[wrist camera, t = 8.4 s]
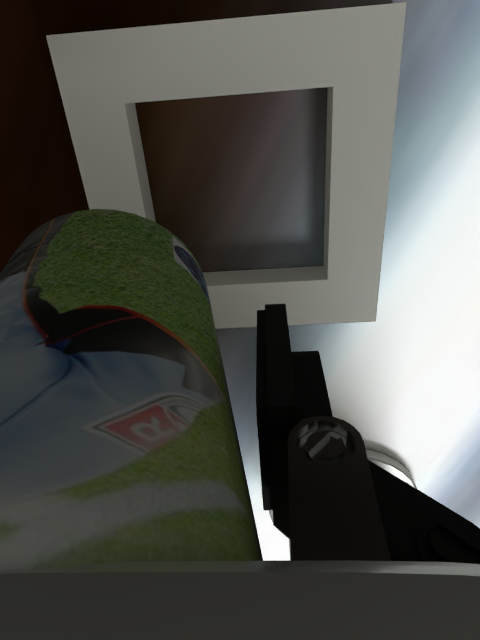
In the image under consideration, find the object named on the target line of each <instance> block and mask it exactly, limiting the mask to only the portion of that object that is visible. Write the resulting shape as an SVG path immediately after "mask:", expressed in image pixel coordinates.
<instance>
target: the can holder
mask: <svg viewBox="0 0 480 640" xmlns="http://www.w3.org/2000/svg"><path fill="white" fill-rule="evenodd" d="M405 11H406V2H403V3H392V4H381V5H370V6H359V7H349V8H338V9H327V10H316V11H305V12H294V13H284V14H273V15H262V16H251V17H240V18H229V19H219V20H208V21H197V22H186V23H175V24H165V25H154V26H143V27H132V28H121V29H110V30H100V31H89V32H78V33H67V34H56V35H46V38H47V42H48V46H49V50H50V54H51V58H52V62H53V66H54V70H55V74H56V78H57V82H58V86H59V90H60V94H61V98H62V102H63V106H64V110H65V114H66V118H67V122H68V126H69V130H70V134H71V138H72V142H73V146H74V150H75V154H76V158H77V162H78V165H79V169H80V173H81V177H82V181H83V185H84V189H85V193H86V197H87V201H88V205H89V209H109V210H119V211H123V212H128V213H133V214H136V215H139V216H141V217H144V218H147V219H149V220H152V221H154V222H155V223H156V221H155V215H154V209H153V204H152V198H151V192H150V187H149V181H148V175H147V170H146V164H145V158H144V153H143V147H142V141H141V136H140V130H139V124H138V118H137V113H136V107H135V103H137V102H150V101H162V100H174V99H187V98H199V97H211V96H224V95H236V94H248V93H261V92H273V91H285V90H298V89H310V88H323V87H327V127H326V168H325V210H324V252H323V266H311V267H293V268H275V269H256V270H238V271H220V272H203V275H204V278H205V281H206V285H207V290H208V294H209V299H210V304H211V309H212V314H213V319H214V324H215V329H220V328H242V327H257V310H265V304H286V312H287V321H288V325H307V324H329V323H350V322H372V321H376V312H377V302H378V291H379V281H380V271H381V260H382V250H383V240H384V229H385V219H386V208H387V198H388V188H389V177H390V167H391V157H392V146H393V136H394V125H395V115H396V105H397V94H398V84H399V73H400V63H401V53H402V42H403V32H404V22H405Z"/></svg>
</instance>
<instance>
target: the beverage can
mask: <svg viewBox="0 0 480 640" xmlns="http://www.w3.org/2000/svg"><path fill="white" fill-rule="evenodd" d="M138 561H263V559H262V554H261V549H260V544H259V539H258V534H257V529H256V524H255V520H254V515H253V510H252V505H251V500H250V495H249V490H248V485H247V480H246V475H245V471H244V466H243V461H242V456H241V451H240V446H239V441H238V436H237V431H236V427H235V422H234V417H233V412H232V407H231V402H230V397H229V392H228V387H227V382H226V378H225V373H224V368H223V363H222V358H221V353H220V348H219V343H218V338H217V334H216V329H215V324H214V319H213V314H212V309H211V304H210V299H209V294H208V290H207V285H206V281H205V278H204V275H203V272H202V269H201V267H200V266H199V264H198V262H197V260H196V259H195V257H194V255H193V254H192V253H191V251H190V250H189V249H188V248H187V247H186V245H185V244H184V243H183V242H182V241H181V240H180V239H178V238H177V237H176V236H175V235H174V234H173V233H171V232H170V231H169V230H167V229H166V228H164V227H162V226H161V225H159V224H157V223H155V222H154V221H152V220H149V219H147V218H144V217H141V216H139V215H136V214H133V213H128V212H123V211H119V210H109V209H90V210H82V211H75V212H72V213H68V214H65V215H62V216H58V217H56V218H54V219H52V220H50V221H48V222H46V223H44V224H43V225H41V226H39V227H38V228H37V229H36V230H34V231H33V232H32V233H31V234H29V235H28V236H27V237H26V238H25V239H24V241H23V242H22V243H21V244H20V245H19V247H18V248H17V249H16V250H15V252H14V253H13V255H12V256H11V258H10V259H9V261H8V262H7V264H6V265H5V267H4V268H3V270H2V271H1V273H0V571H5V570H22V569H38V568H50V567H63V566H76V565H89V564H99V563H109V562H138Z"/></svg>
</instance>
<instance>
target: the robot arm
mask: <svg viewBox="0 0 480 640" xmlns="http://www.w3.org/2000/svg"><path fill="white" fill-rule="evenodd" d="M256 408H257V426H258V440H259V453H260V467H261V481H262V495H263V509H264V510H269V513H270V516H271V519H272V522H273V525H274V526H275V527H276V528H277V529H278V530H279V531H280V532H281V533H283V534H284V535H285V536H286V537H288V538H289V547H290V561H138V562H109V563H99V564H89V565H76V566H63V567H50V568H38V569H22V570H5V571H0V640H480V528H478V527H477V526H476V525H474V524H473V523H472V522H470V521H468V520H467V519H465V518H463V517H462V516H460V515H458V514H457V513H455V512H454V511H452V510H450V509H449V508H447V507H445V506H444V505H442V504H440V503H439V502H437V501H435V500H434V499H432V498H431V497H429V496H427V495H426V494H424V493H422V492H421V491H419V490H417V487H416V485H415V483H414V480H413V478H412V476H411V474H410V473H409V472H408V470H407V469H406V468H405V467H404V466H403V465H401V464H400V463H399V462H398V461H396V460H395V459H393V458H391V457H389V456H387V455H385V454H382V453H378V452H375V451H372V450H366V449H365V445H364V441H363V439H362V437H361V435H360V433H359V432H358V431H357V430H356V429H355V428H354V427H353V426H352V425H351V424H349V423H347V422H346V421H344V420H341V419H338V418H335V417H333V416H332V412H331V407H330V402H329V397H328V393H327V388H326V383H325V378H324V374H323V369H322V364H321V359H320V355H319V352H318V351H301V352H291V347H290V338H289V330H288V321H287V312H286V304H265V310H257V364H256Z"/></svg>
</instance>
